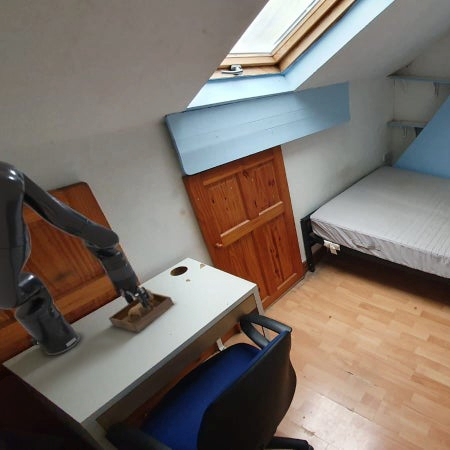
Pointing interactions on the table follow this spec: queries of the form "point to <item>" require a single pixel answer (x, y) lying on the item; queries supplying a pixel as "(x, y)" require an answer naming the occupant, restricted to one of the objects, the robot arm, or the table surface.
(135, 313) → the lion figurine
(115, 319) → the brown wooden shallow box
